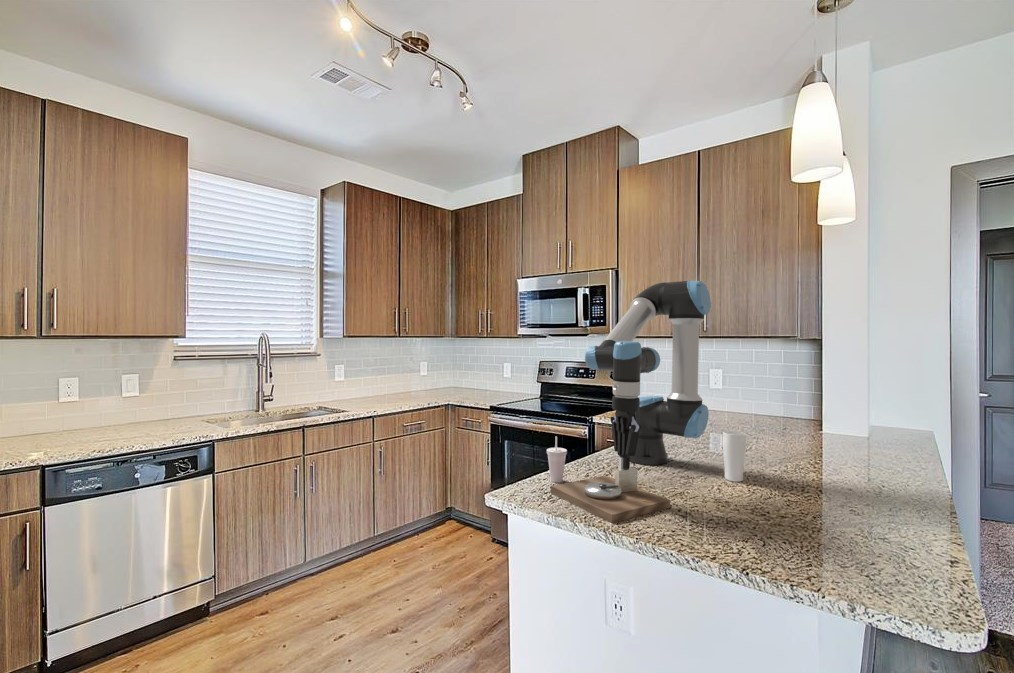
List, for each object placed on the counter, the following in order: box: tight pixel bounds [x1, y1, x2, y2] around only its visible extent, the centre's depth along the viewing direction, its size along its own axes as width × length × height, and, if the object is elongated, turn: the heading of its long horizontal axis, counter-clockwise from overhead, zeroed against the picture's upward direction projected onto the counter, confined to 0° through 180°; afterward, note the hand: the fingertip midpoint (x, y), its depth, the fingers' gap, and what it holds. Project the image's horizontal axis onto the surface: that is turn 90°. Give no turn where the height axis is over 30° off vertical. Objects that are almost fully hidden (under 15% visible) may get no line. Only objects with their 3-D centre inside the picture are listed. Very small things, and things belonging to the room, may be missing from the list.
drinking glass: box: [722, 430, 747, 483], centre depth 153 cm, size 7×7×15 cm
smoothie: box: [546, 436, 568, 484], centre depth 150 cm, size 6×6×14 cm
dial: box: [584, 467, 639, 500], centre depth 133 cm, size 16×10×6 cm, turn 109°
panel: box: [550, 475, 671, 524], centre depth 133 cm, size 21×25×2 cm
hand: (623, 479), depth 136 cm, fingers closed
